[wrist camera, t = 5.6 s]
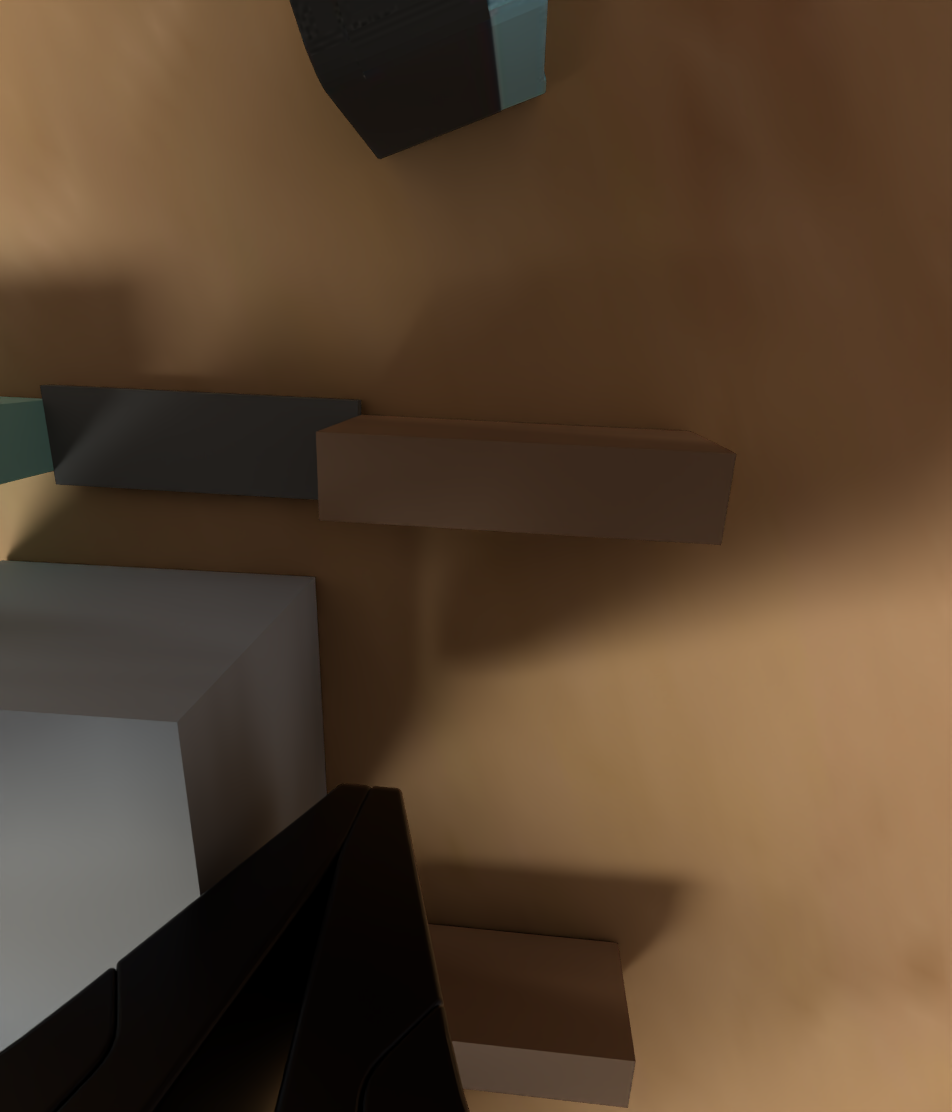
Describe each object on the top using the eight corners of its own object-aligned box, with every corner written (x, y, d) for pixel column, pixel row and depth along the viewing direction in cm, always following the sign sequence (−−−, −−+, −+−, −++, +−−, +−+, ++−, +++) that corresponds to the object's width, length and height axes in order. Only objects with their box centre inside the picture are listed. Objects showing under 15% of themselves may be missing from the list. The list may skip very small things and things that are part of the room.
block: (329, 845, 11) (228, 1097, 7) (58, 823, 12) (-173, 1053, 8) (315, 576, 10) (177, 723, 6) (2, 560, 10) (-318, 688, 6)
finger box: (610, 992, 12) (636, 1198, 9) (-316, 895, 13) (-555, 1049, 10) (692, 416, 9) (774, 448, 6) (-547, 355, 10) (-994, 356, 7)
